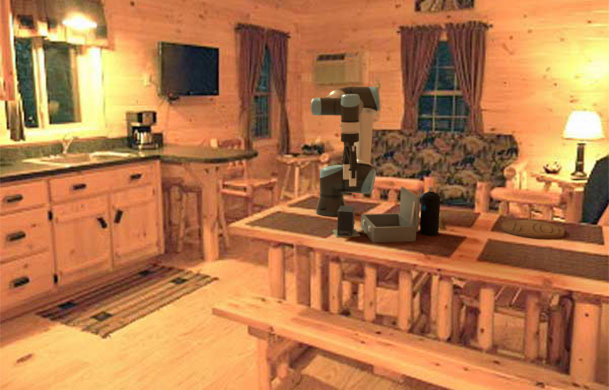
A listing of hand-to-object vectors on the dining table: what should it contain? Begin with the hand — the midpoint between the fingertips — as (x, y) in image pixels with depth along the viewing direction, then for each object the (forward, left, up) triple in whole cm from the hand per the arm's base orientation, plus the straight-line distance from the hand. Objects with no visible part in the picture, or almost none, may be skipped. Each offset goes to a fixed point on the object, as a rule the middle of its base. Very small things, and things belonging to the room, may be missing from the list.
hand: (349, 182), depth 217 cm
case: (+7, +15, -21) cm, 27 cm away
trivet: (+10, +78, -22) cm, 82 cm away
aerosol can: (+8, +33, -21) cm, 40 cm away
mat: (+4, -2, -21) cm, 22 cm away
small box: (+4, -2, -21) cm, 21 cm away
